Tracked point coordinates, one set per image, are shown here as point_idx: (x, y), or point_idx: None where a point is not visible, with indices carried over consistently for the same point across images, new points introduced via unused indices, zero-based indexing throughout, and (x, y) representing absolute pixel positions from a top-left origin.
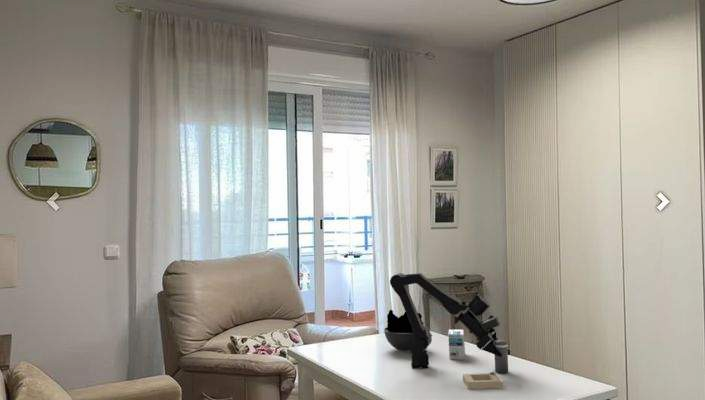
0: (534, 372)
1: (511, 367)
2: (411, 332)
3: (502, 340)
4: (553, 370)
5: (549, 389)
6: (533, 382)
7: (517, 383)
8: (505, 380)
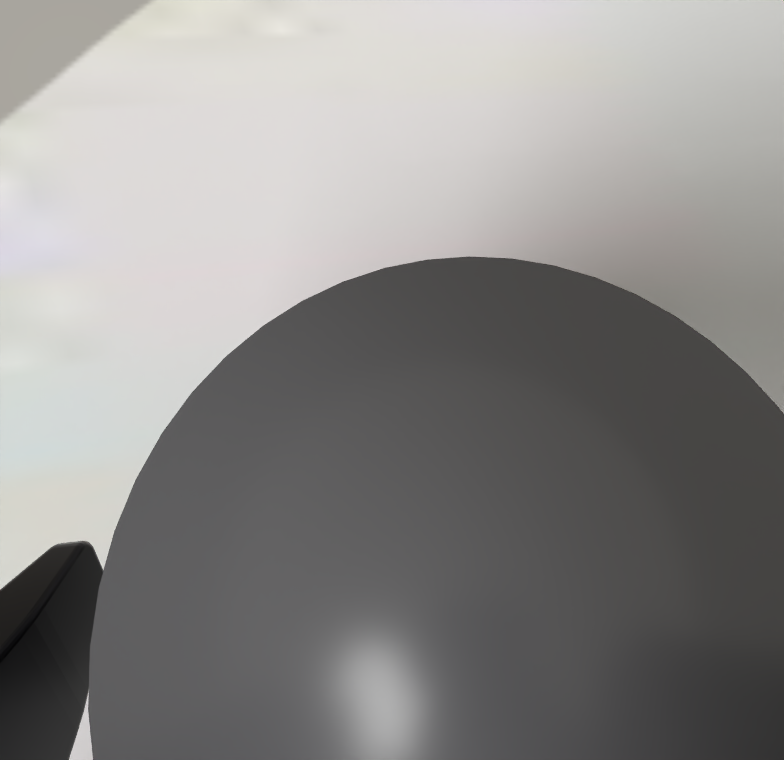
0: (276, 182)
1: (117, 462)
2: None
3: (273, 542)
4: (141, 23)
5: (762, 39)
6: (636, 163)
7: (746, 297)
8: None
